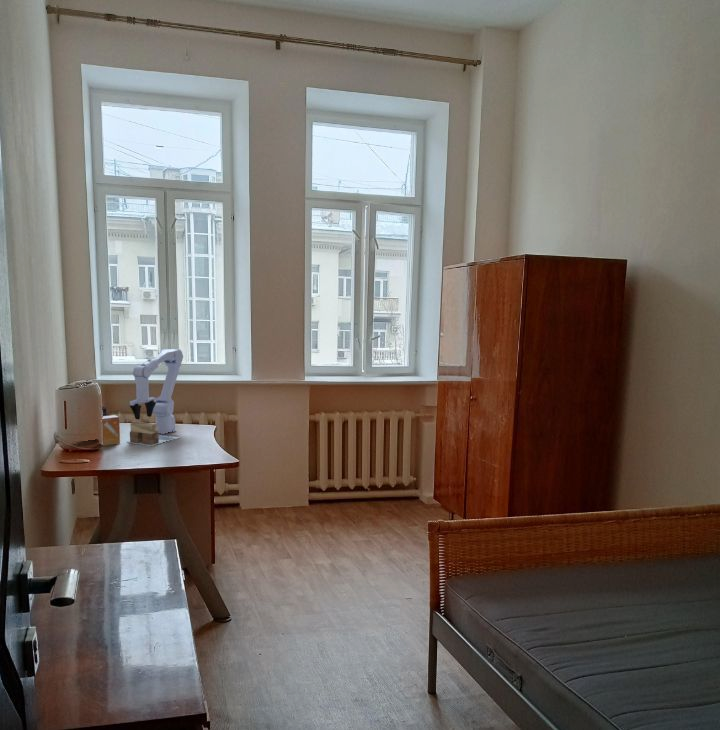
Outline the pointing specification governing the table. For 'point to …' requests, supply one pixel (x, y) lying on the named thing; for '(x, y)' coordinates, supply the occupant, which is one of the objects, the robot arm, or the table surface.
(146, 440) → the cube
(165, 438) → the mat
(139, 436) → the cube
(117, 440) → the small box
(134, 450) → the table surface
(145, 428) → the lintel
